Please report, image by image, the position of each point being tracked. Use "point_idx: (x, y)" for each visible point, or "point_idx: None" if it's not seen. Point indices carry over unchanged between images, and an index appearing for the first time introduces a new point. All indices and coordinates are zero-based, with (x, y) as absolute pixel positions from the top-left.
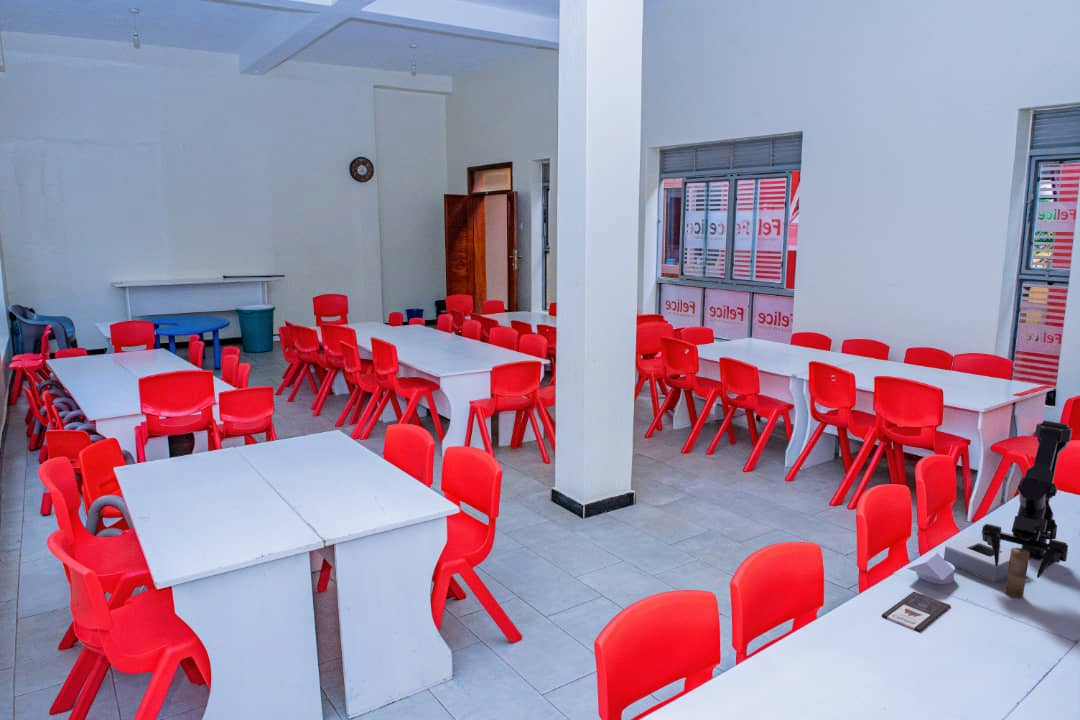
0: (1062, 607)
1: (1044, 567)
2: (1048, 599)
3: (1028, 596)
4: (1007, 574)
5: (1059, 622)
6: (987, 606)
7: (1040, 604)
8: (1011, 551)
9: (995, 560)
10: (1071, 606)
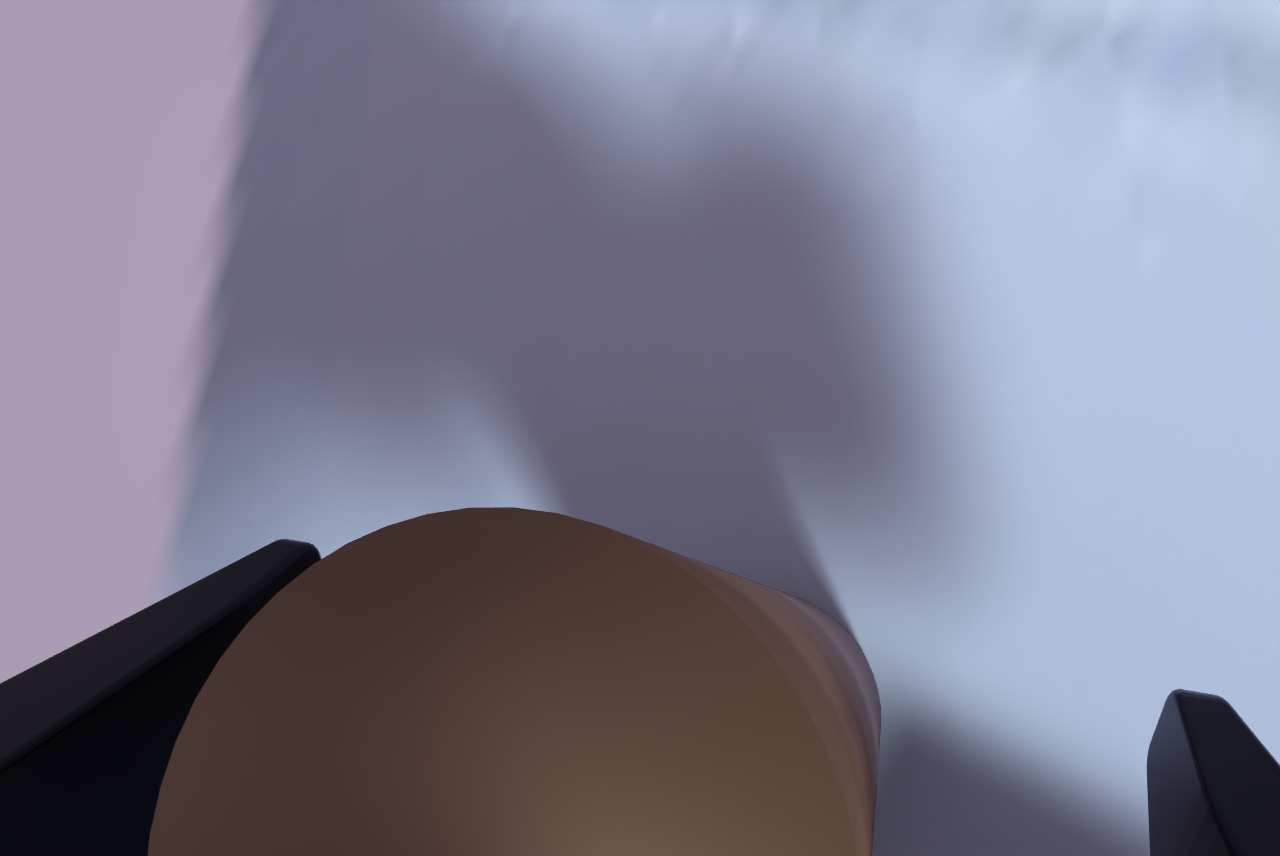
0: None
1: (45, 664)
2: None
3: None
4: (877, 739)
5: (317, 216)
6: (1065, 97)
7: None
8: (841, 761)
9: (1277, 778)
10: None
